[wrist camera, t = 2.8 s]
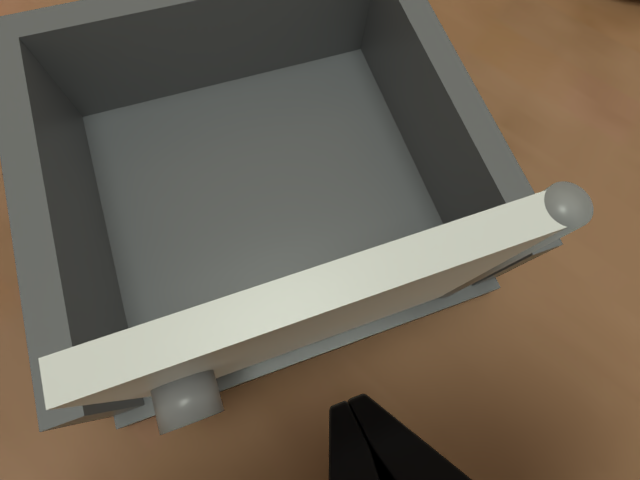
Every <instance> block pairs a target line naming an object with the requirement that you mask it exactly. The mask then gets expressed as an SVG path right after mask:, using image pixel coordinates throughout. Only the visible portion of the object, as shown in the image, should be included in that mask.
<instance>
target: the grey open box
mask: <svg viewBox="0 0 640 480" xmlns="http://www.w3.org/2000/svg"><path fill="white" fill-rule="evenodd" d="M0 158H1V165H2V172H3V179H4V186H5V193H6V200H7V207H8V214H9V221H10V228H11V235H12V242H13V249H14V256H15V263H16V270H17V277H18V284H19V291H20V298H21V305H22V312H23V319H24V326H25V333H26V340H27V347H28V354H29V361H30V368H31V375H32V382H33V389H34V396H35V403H36V410H37V417H38V424H39V431H40V432H42V431H47V430H52V429H56V428H61V427H66V426H70V425H75V424H80V423H84V422H89V421H94V420H98V419H103V418H108V417H112V416H114V420H115V425H116V429H119V428H122V427H126V426H129V425H131V424H134V423H137V422H140V421H142V420H145V419H148V418H150V417H153V416H156V415H155V410H154V406H153V401H152V397H143V398H135V399H128V400H120V401H113V402H105V403H97V404H90V405H82V406H75V407H67V408H59V409H52V410H46V407H45V400H44V393H43V386H42V380H41V373H40V366H39V360H38V358H41V357H44V356H47V355H50V354H53V353H56V352H59V351H62V350H65V349H68V348H71V347H74V346H77V345H80V344H83V343H86V342H89V341H92V340H95V339H98V338H101V337H104V336H107V335H110V334H113V333H116V332H119V331H122V330H125V329H128V328H131V327H134V326H137V325H140V324H143V323H146V322H149V321H152V320H155V319H158V318H161V317H164V316H167V315H171V314H174V313H177V312H180V311H183V310H186V309H189V308H192V307H195V306H198V305H201V304H204V303H207V302H210V301H213V300H216V299H219V298H222V297H225V296H228V295H231V294H234V293H237V292H240V291H243V290H246V289H249V288H252V287H255V286H258V285H261V284H264V283H267V282H270V281H273V280H276V279H279V278H282V277H285V276H288V275H291V274H294V273H297V272H301V271H304V270H307V269H310V268H313V267H316V266H319V265H322V264H325V263H328V262H331V261H334V260H337V259H340V258H343V257H346V256H349V255H352V254H355V253H358V252H361V251H364V250H367V249H370V248H373V247H376V246H379V245H382V244H385V243H388V242H391V241H394V240H397V239H400V238H403V237H406V236H409V235H412V234H415V233H418V232H421V231H424V230H427V229H431V228H434V227H437V226H440V225H443V224H446V223H449V222H452V221H455V220H458V219H461V218H464V217H467V216H470V215H473V214H476V213H479V212H482V211H485V210H488V209H491V208H494V207H497V206H500V205H503V204H506V203H509V202H512V201H515V200H518V199H521V198H524V197H527V196H530V195H533V194H535V193H534V191H533V189H532V187H531V186H530V184H529V182H528V180H527V178H526V177H525V175H524V173H523V171H522V169H521V168H520V166H519V164H518V162H517V160H516V159H515V157H514V155H513V153H512V151H511V150H510V148H509V146H508V144H507V142H506V141H505V139H504V137H503V135H502V133H501V132H500V130H499V128H498V126H497V124H496V123H495V121H494V119H493V117H492V115H491V114H490V112H489V110H488V108H487V106H486V105H485V103H484V101H483V99H482V97H481V96H480V94H479V92H478V90H477V88H476V87H475V85H474V83H473V81H472V79H471V78H470V76H469V74H468V72H467V70H466V69H465V67H464V65H463V63H462V61H461V60H460V58H459V56H458V54H457V52H456V51H455V49H454V47H453V45H452V43H451V42H450V40H449V38H448V36H447V34H446V33H445V31H444V29H443V27H442V25H441V24H440V22H439V20H438V18H437V16H436V14H435V13H434V11H433V9H432V7H431V5H430V4H429V2H428V0H80V1H75V2H70V3H65V4H60V5H55V6H50V7H45V8H40V9H35V10H30V11H25V12H20V13H15V14H10V15H5V16H0ZM561 245H563V243H562V242H561V240H560V238H559V239H557V240H555V241H554V242H552V243H550V244H548V245H546V246H544V247H542V248H540V249H538V250H536V251H534V252H532V253H531V254H529V255H527V256H525V257H523V258H521V259H519V260H517V261H515V262H513V263H511V264H510V265H508V266H506V267H504V268H502V269H500V270H498V271H496V272H494V273H492V274H490V275H488V276H487V277H485V278H483V279H481V280H479V281H477V282H475V283H473V284H471V285H469V286H467V287H466V288H464V289H462V290H460V291H458V292H456V293H454V294H452V295H450V296H448V297H446V298H437V299H434V300H431V301H428V302H425V303H423V304H420V305H417V306H414V307H412V308H409V309H406V310H403V311H401V312H398V313H395V314H392V315H390V316H387V317H384V318H381V319H379V320H376V321H373V322H370V323H368V324H365V325H362V326H359V327H357V328H354V329H351V330H348V331H346V332H343V333H340V334H337V335H334V336H332V337H329V338H326V339H323V340H321V341H318V342H315V343H312V344H310V345H307V346H304V347H301V348H299V349H296V350H293V351H290V352H288V353H285V354H282V355H279V356H277V357H274V358H271V359H268V360H266V361H263V362H260V363H257V364H255V365H252V366H249V367H246V368H243V369H241V370H238V371H235V372H232V373H230V374H227V375H224V376H221V377H219V378H216V381H217V385H218V389H219V392H221V391H224V390H226V389H229V388H232V387H234V386H237V385H240V384H243V383H245V382H248V381H251V380H253V379H256V378H259V377H262V376H264V375H267V374H270V373H272V372H275V371H278V370H281V369H283V368H286V367H289V366H291V365H294V364H297V363H300V362H302V361H305V360H308V359H310V358H313V357H316V356H319V355H321V354H324V353H327V352H329V351H332V350H335V349H338V348H340V347H343V346H346V345H348V344H351V343H354V342H357V341H359V340H362V339H365V338H367V337H370V336H373V335H376V334H378V333H381V332H384V331H386V330H389V329H392V328H394V327H397V326H400V325H403V324H405V323H408V322H411V321H413V320H416V319H419V318H422V317H424V316H427V315H430V314H432V313H435V312H438V311H441V310H443V309H446V308H449V307H451V306H454V305H457V304H460V303H462V302H465V301H468V300H470V299H473V298H476V297H479V296H481V295H484V294H487V293H489V292H492V291H494V290H497V289H499V288H500V286H499V284H498V282H497V280H496V277H498V276H500V275H502V274H504V273H506V272H508V271H510V270H512V269H514V268H516V267H518V266H520V265H522V264H524V263H526V262H528V261H530V260H532V259H534V258H536V257H538V256H540V255H542V254H544V253H546V252H548V251H550V250H553V249H555V248H557V247H559V246H561Z"/></svg>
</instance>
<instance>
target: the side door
mask: <svg viewBox="0 0 640 480" xmlns="http://www.w3.org/2000/svg"><path fill="white" fill-rule="evenodd" d="M592 215H593V204H592V201H591V199H590V197H589V195H588V194H587V193H586V192H585V191H584V190H583V189H582V188H581V187H579V186H578V185H576V184H573V183H570V182H557V183H554V184H552V185H551V186H549V187H548V188H547V189H545V190H544V191H542V192H539V193H536V194H533V195H530V196H527V197H524V198H521V199H518V200H515V201H512V202H509V203H506V204H503V205H500V206H497V207H494V208H491V209H488V210H485V211H482V212H479V213H476V214H473V215H470V216H467V217H464V218H461V219H458V220H455V221H452V222H449V223H446V224H443V225H440V226H437V227H434V228H431V229H427V230H424V231H421V232H418V233H415V234H412V235H409V236H406V237H403V238H400V239H397V240H394V241H391V242H388V243H385V244H382V245H379V246H376V247H373V248H370V249H367V250H364V251H361V252H358V253H355V254H352V255H349V256H346V257H343V258H340V259H337V260H334V261H331V262H328V263H325V264H322V265H319V266H316V267H313V268H310V269H307V270H304V271H301V272H297V273H294V274H291V275H288V276H285V277H282V278H279V279H276V280H273V281H270V282H267V283H264V284H261V285H258V286H255V287H252V288H249V289H246V290H243V291H240V292H237V293H234V294H231V295H228V296H225V297H222V298H219V299H216V300H213V301H210V302H207V303H204V304H201V305H198V306H195V307H192V308H189V309H186V310H183V311H180V312H177V313H174V314H171V315H167V316H164V317H161V318H158V319H155V320H152V321H149V322H146V323H143V324H140V325H137V326H134V327H131V328H128V329H125V330H122V331H119V332H116V333H113V334H110V335H107V336H104V337H101V338H98V339H95V340H92V341H89V342H86V343H83V344H80V345H77V346H74V347H71V348H68V349H65V350H62V351H59V352H56V353H53V354H50V355H47V356H44V357H41V358H38V360H39V366H40V373H41V380H42V386H43V393H44V400H45V407H46V410H52V409H59V408H67V407H75V406H82V405H90V404H97V403H105V402H113V401H120V400H128V399H135V398H143V397H152V401H153V406H154V410H155V415H156V419H157V424H158V428H159V433H160V435H162V434H165V433H167V432H170V431H173V430H176V429H178V428H181V427H184V426H186V425H189V424H192V423H194V422H197V421H199V420H202V419H205V418H207V417H210V416H212V415H215V414H217V413H220V412H222V411H224V407H223V404H222V400H221V396H220V392H219V389H218V385H217V381H216V378H219V377H221V376H224V375H227V374H230V373H232V372H235V371H238V370H241V369H243V368H246V367H249V366H252V365H255V364H257V363H260V362H263V361H266V360H268V359H271V358H274V357H277V356H279V355H282V354H285V353H288V352H290V351H293V350H296V349H299V348H301V347H304V346H307V345H310V344H312V343H315V342H318V341H321V340H323V339H326V338H329V337H332V336H334V335H337V334H340V333H343V332H346V331H348V330H351V329H354V328H357V327H359V326H362V325H365V324H368V323H370V322H373V321H376V320H379V319H381V318H384V317H387V316H390V315H392V314H395V313H398V312H401V311H403V310H406V309H409V308H412V307H414V306H417V305H420V304H423V303H425V302H428V301H431V300H434V299H437V298H446V297H448V296H450V295H452V294H454V293H456V292H458V291H460V290H462V289H464V288H466V287H467V286H469V285H471V284H473V283H475V282H477V281H479V280H481V279H483V278H485V277H487V276H488V275H490V274H492V273H494V272H496V271H498V270H500V269H502V268H504V267H506V266H508V265H510V264H511V263H513V262H515V261H517V260H519V259H521V258H523V257H525V256H527V255H529V254H531V253H532V252H534V251H536V250H538V249H540V248H542V247H544V246H546V245H548V244H550V243H552V242H554V241H555V240H557V239H559V238H561V237H563V236H565V235H567V234H569V233H571V232H573V231H575V230H576V229H578V228H580V227H582V226H584V225H586V224H587V223H588V222H589V221H590V220H591V218H592Z"/></svg>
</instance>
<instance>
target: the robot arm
mask: <svg viewBox="0 0 640 480" xmlns="http://www.w3.org/2000/svg"><path fill="white" fill-rule="evenodd" d="M329 480H472V479H470V478H469V477H468V476H467V475H465V474H464V473H463V472H462V471H460V470H459V469H458V468H457V467H455V466H454V465H453V464H452V463H451V462H449V461H448V460H447V459H446V458H444V457H443V456H442V455H441V454H439V453H438V452H437V451H436V450H434V449H433V448H432V447H431V446H429V445H428V444H427V443H426V442H424V441H423V440H422V439H421V438H420V437H418V436H417V435H416V434H415V433H413V432H412V431H411V430H410V429H408V428H407V427H406V426H405V425H403V424H402V423H401V422H400V421H398V420H397V419H396V418H395V417H393V416H392V415H391V414H390V413H389V412H387V411H386V410H385V409H384V408H382V407H381V406H380V405H379V404H377V403H376V402H375V401H374V400H372V399H371V398H370V397H369V396H367V395H366V394H361V395H358V396H356V397H353V398H350V399H349V400H348V402H347V401H343V402H340V403H338V404H335V405H333V406H331V407H330V411H329Z"/></svg>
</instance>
